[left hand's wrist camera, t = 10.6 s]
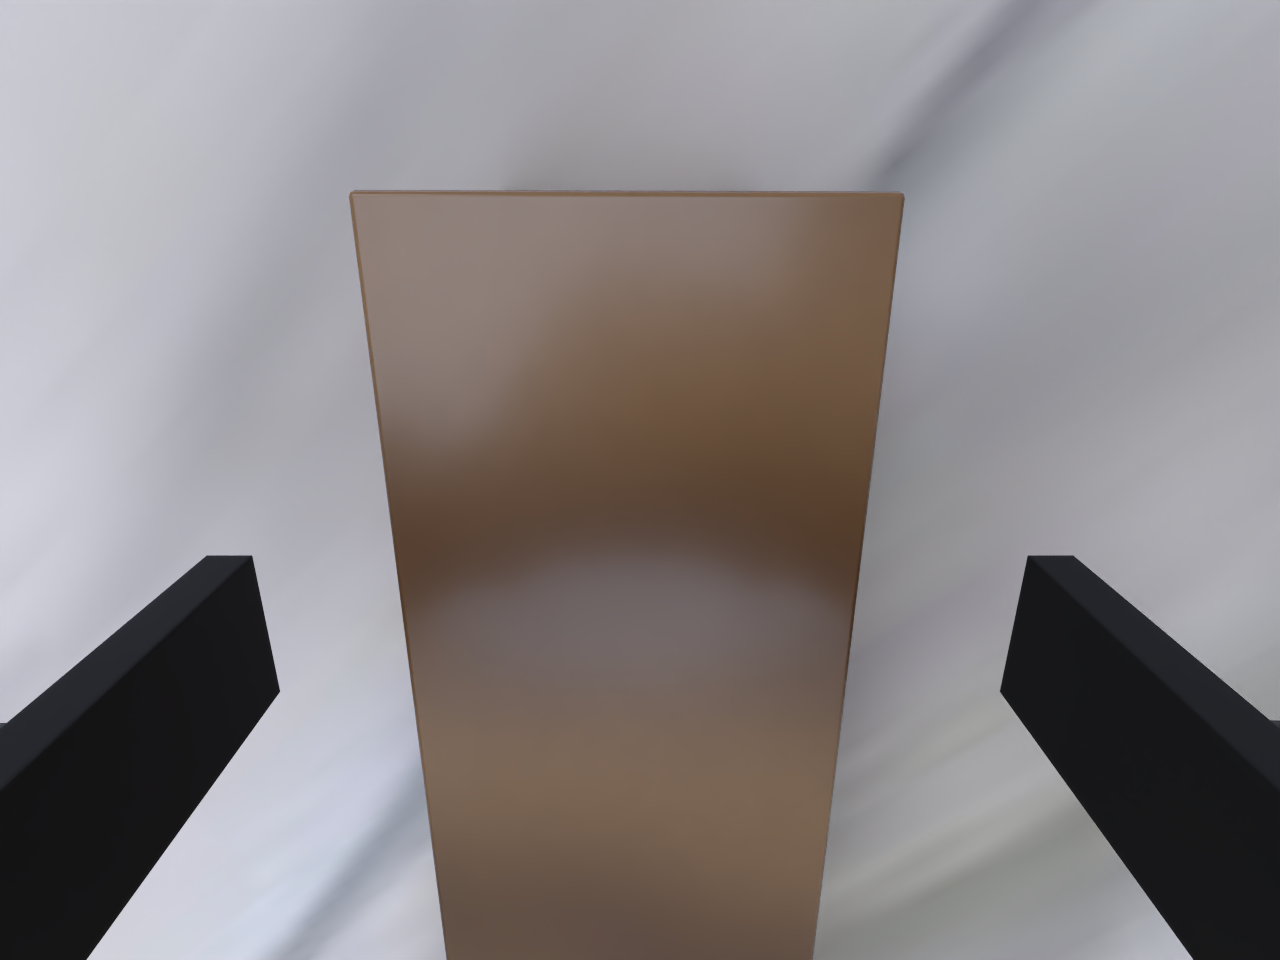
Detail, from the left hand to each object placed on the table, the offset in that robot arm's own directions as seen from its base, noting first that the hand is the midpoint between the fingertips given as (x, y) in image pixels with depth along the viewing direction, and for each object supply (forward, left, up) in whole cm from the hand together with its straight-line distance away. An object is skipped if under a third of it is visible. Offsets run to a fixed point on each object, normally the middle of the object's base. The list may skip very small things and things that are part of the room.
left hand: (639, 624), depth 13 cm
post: (-11, +20, -5) cm, 24 cm away
